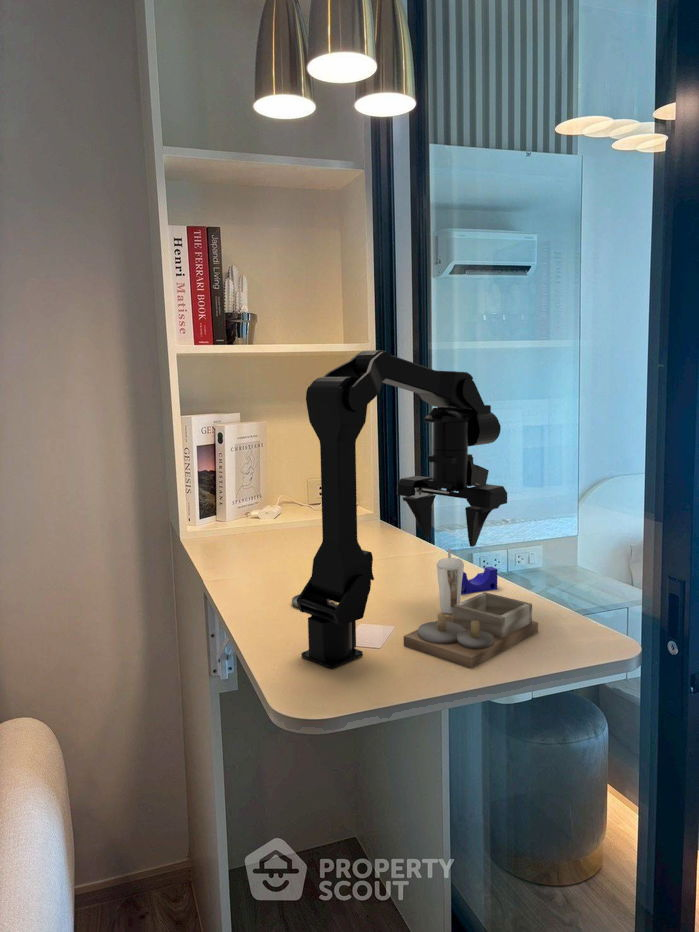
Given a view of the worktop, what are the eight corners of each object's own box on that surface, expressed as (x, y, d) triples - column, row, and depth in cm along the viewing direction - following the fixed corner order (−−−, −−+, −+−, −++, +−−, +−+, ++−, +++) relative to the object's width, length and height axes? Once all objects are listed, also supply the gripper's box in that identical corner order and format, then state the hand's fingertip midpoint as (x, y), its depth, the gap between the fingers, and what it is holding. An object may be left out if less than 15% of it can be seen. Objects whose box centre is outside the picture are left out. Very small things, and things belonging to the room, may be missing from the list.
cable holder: (487, 584, 134) (487, 564, 134) (497, 590, 131) (497, 569, 130) (449, 590, 131) (449, 569, 131) (459, 595, 128) (459, 574, 128)
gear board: (471, 668, 97) (471, 636, 96) (403, 645, 105) (403, 616, 105) (537, 631, 110) (538, 603, 109) (473, 613, 118) (473, 587, 117)
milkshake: (462, 604, 123) (462, 548, 121) (464, 615, 117) (464, 557, 116) (436, 604, 123) (436, 548, 122) (436, 615, 118) (436, 556, 116)
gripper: (526, 448, 116) (524, 541, 118) (434, 441, 129) (434, 525, 131) (488, 455, 108) (486, 555, 110) (394, 446, 121) (395, 536, 123)
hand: (449, 541), depth 118 cm, fingers open, 9 cm apart
